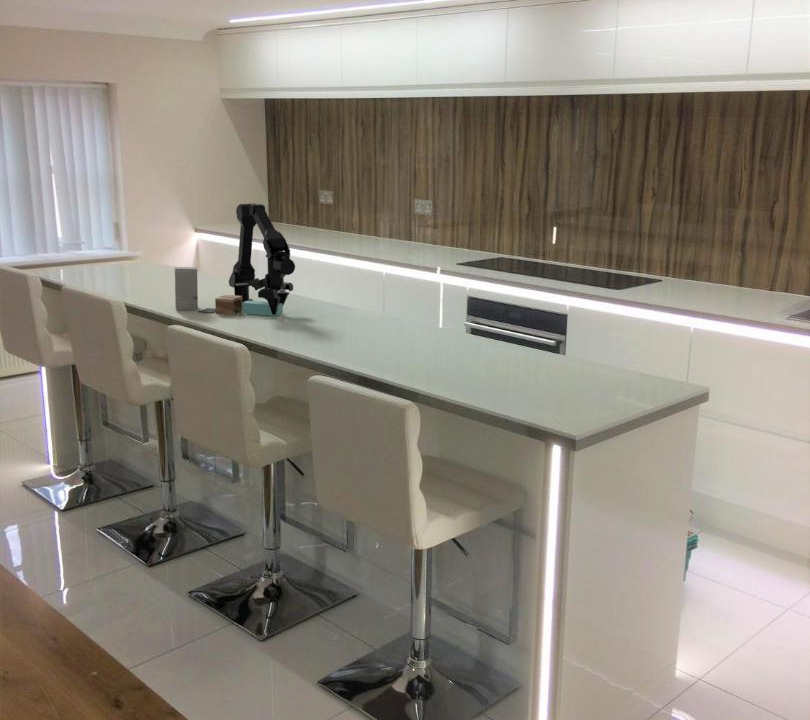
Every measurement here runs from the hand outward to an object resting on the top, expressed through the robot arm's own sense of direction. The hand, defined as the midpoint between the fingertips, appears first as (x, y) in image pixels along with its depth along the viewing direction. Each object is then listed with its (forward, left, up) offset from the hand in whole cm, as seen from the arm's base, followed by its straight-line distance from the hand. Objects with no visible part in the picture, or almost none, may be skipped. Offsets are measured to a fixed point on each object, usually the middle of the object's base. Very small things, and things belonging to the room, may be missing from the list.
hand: (276, 313), depth 328 cm
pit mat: (0, -27, -1) cm, 27 cm away
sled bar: (0, -5, -1) cm, 6 cm away
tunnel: (0, -19, -1) cm, 19 cm away
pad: (0, -5, -1) cm, 5 cm away
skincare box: (-1, -37, -1) cm, 37 cm away
